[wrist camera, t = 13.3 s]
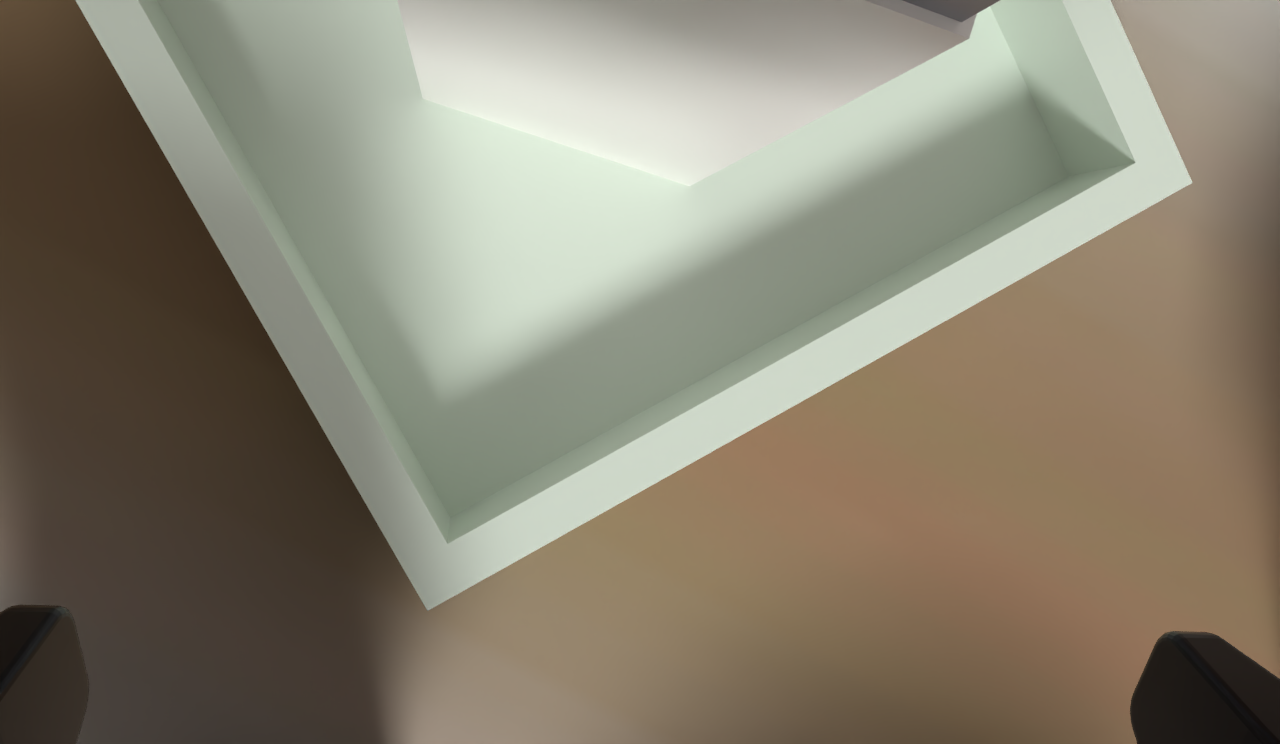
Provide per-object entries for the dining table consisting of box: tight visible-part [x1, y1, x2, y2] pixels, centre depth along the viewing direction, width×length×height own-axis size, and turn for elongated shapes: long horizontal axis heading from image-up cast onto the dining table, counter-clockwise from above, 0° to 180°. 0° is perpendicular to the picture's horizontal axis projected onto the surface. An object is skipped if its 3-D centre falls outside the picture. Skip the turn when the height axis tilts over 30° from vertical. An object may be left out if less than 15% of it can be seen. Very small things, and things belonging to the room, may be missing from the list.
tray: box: [76, 0, 1192, 611], centre depth 19 cm, size 15×15×3 cm
